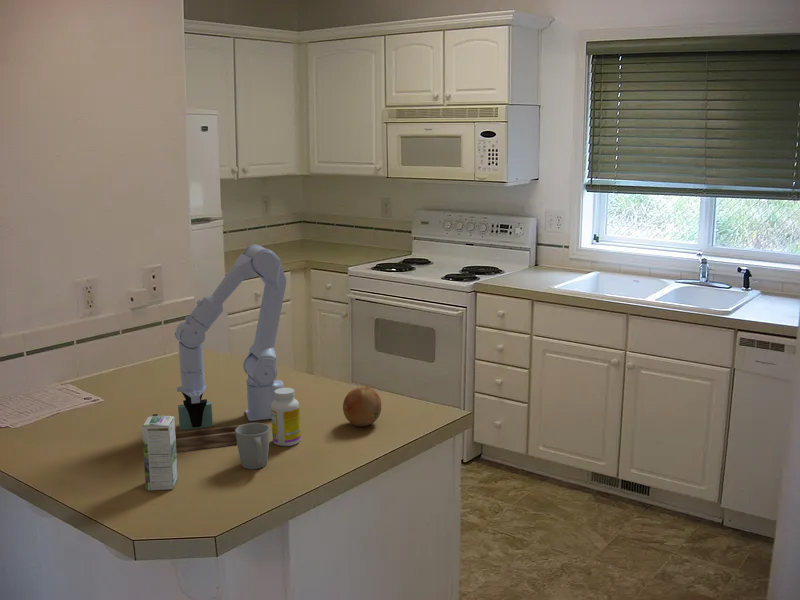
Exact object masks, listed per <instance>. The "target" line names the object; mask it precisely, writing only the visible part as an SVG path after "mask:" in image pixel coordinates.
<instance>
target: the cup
mask: <svg viewBox="0 0 800 600" xmlns="http://www.w3.org/2000/svg"><path fill="white" fill-rule="evenodd" d="M240 425H241V426H239V427H237V428H236V430H235V434H236V440H237V445H236V446H237V450H238V455H239V459H240V466H241V467H242V468H243V469H246V468H247V469H246V470H258V469H257V468H259V469H262V468H265V466H266V465H267V464H268V458H269V457H268V456H269V449H270V447H269V446H270V434H271V433H270V432H271V430H270V429H271V428H270V425H269V424H267V423H261V422H250V423H245V424H244V425H242V424H240ZM261 467H262V468H261Z"/></svg>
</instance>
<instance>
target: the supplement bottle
mask: <svg viewBox="0 0 800 600" xmlns="http://www.w3.org/2000/svg"><path fill="white" fill-rule="evenodd" d="M274 396H275V398H276V400H274V401H273V402H272V404H271V417H272V419H271V434H272V441H273V444H275V446H281V447H291V446H295V445H297V444H299V443H300V441H301V439H302V437H301V418H300V417H301V416H300V415H301V413H300V404H299V403H300V402H299V401H298V400H297V399H296V398H295V389H294V388H291V387H284V388H279V389H276V390H275V391H274Z"/></svg>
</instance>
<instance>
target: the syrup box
mask: <svg viewBox="0 0 800 600" xmlns="http://www.w3.org/2000/svg"><path fill="white" fill-rule="evenodd" d="M175 422H176V421H175V416H173V415H172V416H171V415H158V416H152V415H151V416H148V417H147V418H146V420H145V422H144V424H143V425H142V427H141V436H142V449H143V452H142V453H143V462H144V463H143V465H144V466H143V467H144V479H145V481H144V482H145V490H146V491H163V490H165V491H166V490H174V489H175V485H176V484H177V482H178V481H177V480H178V478H179V474H178V471H179V470H178V454H177V453H178V452H176V435H175V432H176V423H175Z"/></svg>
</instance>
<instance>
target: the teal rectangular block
mask: <svg viewBox="0 0 800 600" xmlns="http://www.w3.org/2000/svg"><path fill="white" fill-rule="evenodd" d="M177 409H178V411H177V412H178V423H179V425H178V426H179V431H187V430H186V429H188V430H195V429H194V428H196V429H203V428H202V427H205V428H212V427H211V426H213V425H214V424H213V411H212V410H213V407H212V402H211V401H207V404H206V406H205V408H204V412H203V418H202V425H201V427H194V428H193V427H192V424H191V421H190V416H189V413H188V411H187V409H186V407H185V406H184V404H178V405H177ZM213 427H214V426H213Z"/></svg>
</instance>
